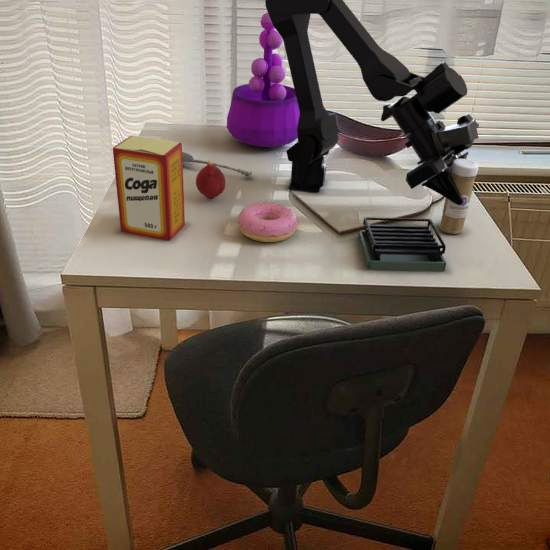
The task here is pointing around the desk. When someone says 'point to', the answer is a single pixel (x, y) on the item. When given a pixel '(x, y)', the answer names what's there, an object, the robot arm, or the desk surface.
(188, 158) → the soupspoon
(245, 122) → the decorative plant
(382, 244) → the rack
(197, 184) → the onion
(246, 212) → the doughnut
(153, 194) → the baking soda box
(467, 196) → the sprinkles bottle
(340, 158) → the desk surface
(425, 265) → the drip tray
